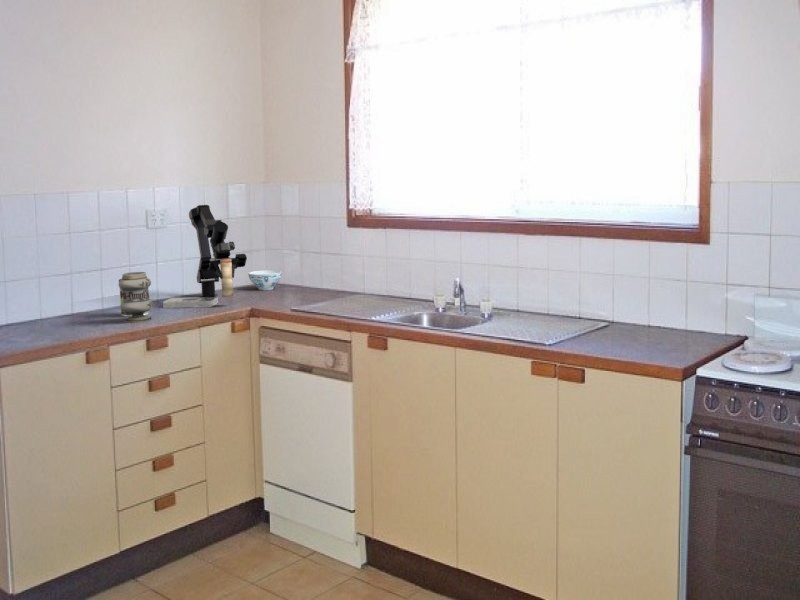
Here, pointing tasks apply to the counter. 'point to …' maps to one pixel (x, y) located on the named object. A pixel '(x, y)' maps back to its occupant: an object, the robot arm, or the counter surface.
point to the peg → (226, 277)
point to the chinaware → (265, 278)
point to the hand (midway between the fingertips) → (227, 277)
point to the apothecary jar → (136, 296)
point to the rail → (190, 302)
